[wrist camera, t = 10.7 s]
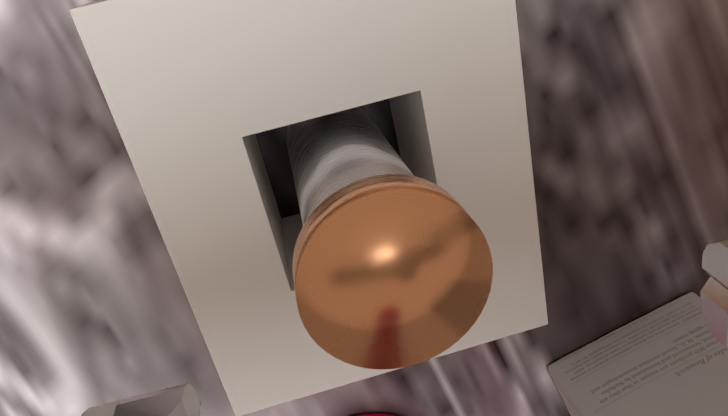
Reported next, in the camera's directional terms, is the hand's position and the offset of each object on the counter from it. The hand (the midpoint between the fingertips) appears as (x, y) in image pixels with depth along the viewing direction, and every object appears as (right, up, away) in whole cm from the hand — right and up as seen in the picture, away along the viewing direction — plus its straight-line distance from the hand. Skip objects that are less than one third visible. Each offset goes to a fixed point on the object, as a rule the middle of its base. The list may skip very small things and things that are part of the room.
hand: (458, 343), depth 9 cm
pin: (-3, +5, +11) cm, 12 cm away
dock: (-3, +4, +11) cm, 12 cm away
